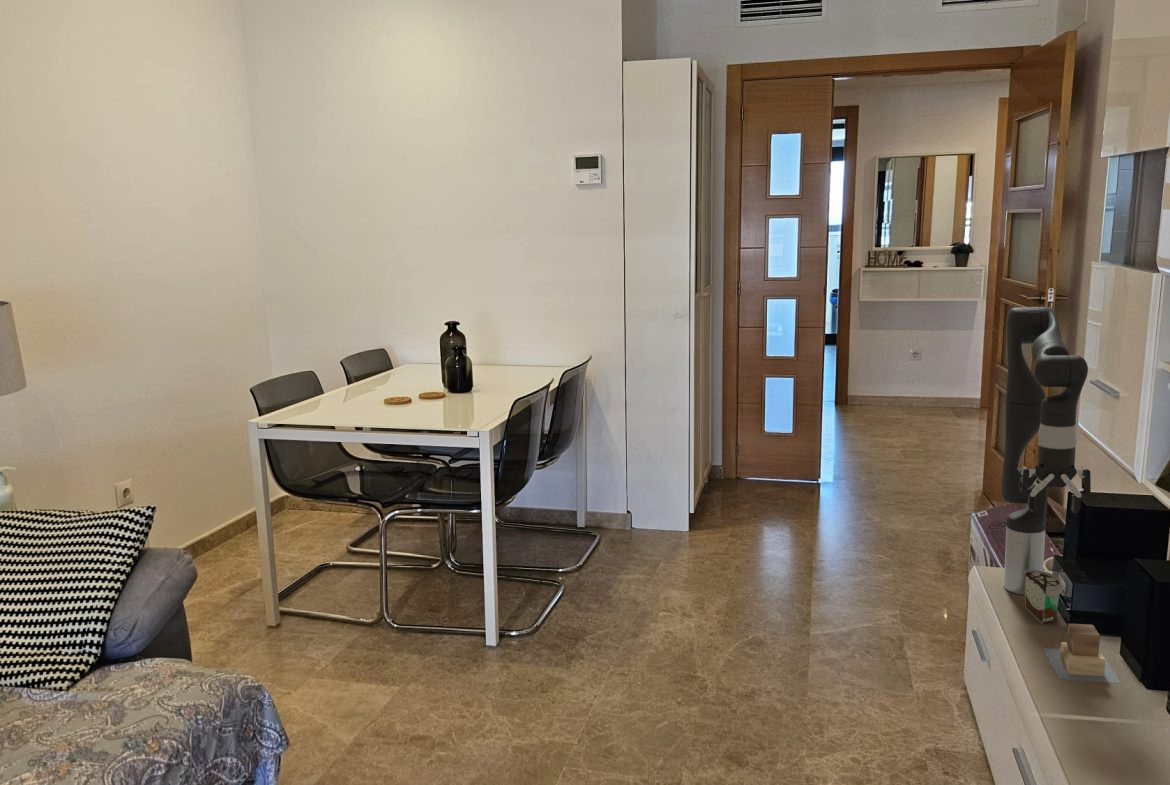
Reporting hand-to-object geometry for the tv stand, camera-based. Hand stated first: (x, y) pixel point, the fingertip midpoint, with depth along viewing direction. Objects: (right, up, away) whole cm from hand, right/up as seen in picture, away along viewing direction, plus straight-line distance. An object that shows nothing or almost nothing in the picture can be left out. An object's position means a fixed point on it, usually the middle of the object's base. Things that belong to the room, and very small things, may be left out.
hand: (1053, 511), depth 204 cm
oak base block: (+2, -33, -7) cm, 34 cm away
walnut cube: (+2, -30, -8) cm, 31 cm away
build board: (+3, -34, -6) cm, 34 cm away
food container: (+8, -29, +19) cm, 35 cm away
